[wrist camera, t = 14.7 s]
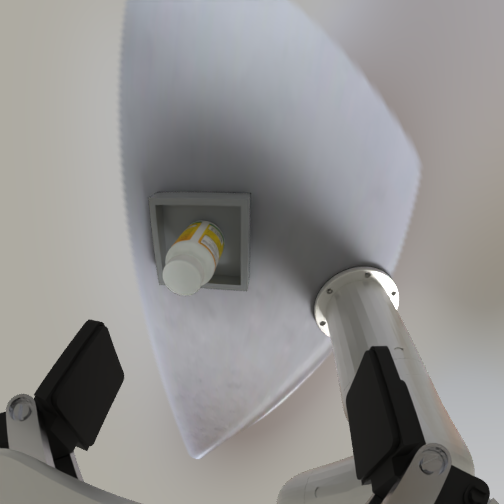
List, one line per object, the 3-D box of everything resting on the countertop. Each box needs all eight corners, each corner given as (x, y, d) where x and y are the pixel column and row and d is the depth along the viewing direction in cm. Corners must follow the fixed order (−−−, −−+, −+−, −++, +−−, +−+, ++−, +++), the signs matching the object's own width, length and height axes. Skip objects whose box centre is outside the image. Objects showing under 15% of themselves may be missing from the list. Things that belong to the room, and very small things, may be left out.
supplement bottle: (229, 225, 34) (213, 262, 26) (220, 263, 37) (204, 308, 28) (186, 214, 34) (158, 247, 26) (180, 253, 37) (154, 293, 28)
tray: (250, 192, 33) (248, 199, 31) (249, 278, 38) (247, 291, 36) (157, 192, 34) (148, 198, 31) (166, 273, 39) (159, 284, 36)
